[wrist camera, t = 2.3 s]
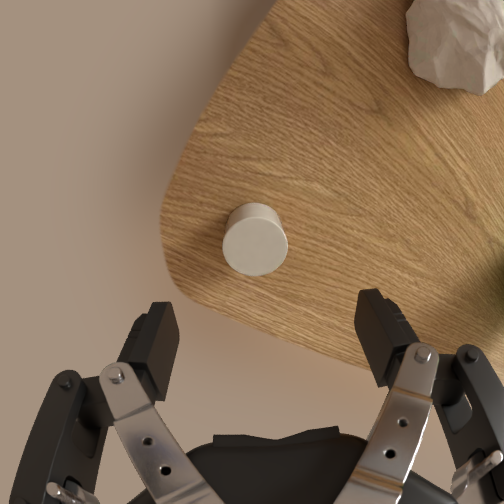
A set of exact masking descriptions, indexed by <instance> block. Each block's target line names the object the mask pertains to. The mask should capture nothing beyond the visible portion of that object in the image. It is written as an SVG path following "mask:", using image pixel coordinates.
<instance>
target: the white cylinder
mask: <svg viewBox="0 0 504 504" xmlns="http://www.w3.org/2000/svg"><path fill="white" fill-rule="evenodd" d="M222 250H223V255H224V258H225V259H226V261H227V263H228V264H229V265H230V266H231V267H232V268H233V269H234V270H236V271H237V272H239V273H241V274H244V275H248V276H262V275H265V274H268V273H270V272H272V271H274V270H275V269H277V268H278V267H279V266H280V265H281V264H282V262H283V261H284V259H285V257H286V254H287V250H288V242H287V238H286V235H285V231H284V228H283V225H282V222H281V219H280V217H279V216H278V214H277V213H276V212H275V211H274V210H273V209H272V208H270V207H269V206H267V205H264V204H261V203H248V204H244V205H242V206H240V207H238V208H237V209H235V210H234V211H233V212H232V213H231V214H230V216H229V217H228V219H227V222H226V226H225V232H224V238H223V244H222Z"/></svg>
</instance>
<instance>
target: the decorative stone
mask: <svg viewBox="0 0 504 504" xmlns="http://www.w3.org/2000/svg"><path fill="white" fill-rule="evenodd" d="M406 19H407V33H408V37H409V42H410V43H409V53H408V55H409V57H408V61H409V62H408V64H409V67H410V68H411V70H412V72H413V73H414V74H415V75H416V76H418V77H420V78H422V79H425V80H427V81H429V82H431V83H434V84H435V85H436V86H437V87H439V88H447V89H451V88H459V89H465V90H466V91H467V92H470V93H473V94H475V95H478V96H482V95H483V94H485V93H486V92H487V91H488V90H489V89H490V88H493V87H494V86H495V85H496V84H497V82H498V81H500V80H501V79H503V77H504V1H503V0H414V1H413V3H412V5H411V7H410V8H409V10H408V11H407V12H406Z"/></svg>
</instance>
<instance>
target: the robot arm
mask: <svg viewBox="0 0 504 504" xmlns="http://www.w3.org/2000/svg"><path fill="white" fill-rule="evenodd" d="M354 326H355V331H356V333H357V336H358V338H359V341H360V343H361V345H362V348H363V350H364V353H365V355H366V358H367V360H368V363H369V365H370V368H371V370H372V373H373V375H374V378H375V380H376V383H377V385H378V387H383V386H388V388H389V392H388V394H387V396H386V399H385V401H384V403H383V406H382V408H381V410H380V413H379V415H378V417H377V419H376V421H375V423H374V425H373V427H372V429H371V431H370V433H369V435H368V437H367V439H366V440H365V439H362V438H360V437H357V436H354V435H349V434H342V433H340V432H339V428H338V426H333V427H326V428H319V429H312V430H307V431H304V432H301V433H298V434H295V435H292V436H289V437H285V438H282V439H278V440H273V439H266V438H260V437H254V436H249V435H214V436H213V442H212V443H208V444H204V445H201V446H199V447H197V448H194V449H192V450H191V451H189V452H187V453H186V454H185V453H184V451H183V450H182V449H181V447H180V446H179V444H178V443H177V441H176V440H175V439H174V437H173V435H172V434H171V432H170V431H169V429H168V428H167V427H166V425H165V423H164V422H163V420H162V418H161V417H160V415H159V414H158V412H157V410H156V409H155V407H154V405H155V401H165V398H166V393H167V389H168V385H169V381H170V376H171V372H172V368H173V364H174V360H175V356H176V352H177V348H178V344H179V329H178V325H177V321H176V318H175V314H174V311H173V307H172V304H171V302H153V303H152V305H151V307H150V309H149V312H148V314H142V315H141V316H140V317H139V318H137V319H136V320H135V322H134V324H133V326H132V328H131V331H130V333H129V335H128V338H127V339H126V341H125V344H124V346H123V348H122V350H121V353H120V355H119V357H118V360H117V362H116V363H112V364H110V365H108V366H106V367H105V368H104V369H103V370H102V372H101V374H100V376H96V377H89V378H83V379H82V378H81V377H80V375H79V374H78V373H77V372H76V371H73V370H65V371H62V372H60V373H59V374H57V375H56V376H55V378H54V379H53V381H52V383H51V385H50V387H49V389H48V392H47V394H46V396H45V398H44V400H43V403H42V405H41V407H40V410H39V412H38V415H37V417H36V420H35V422H34V425H33V427H32V430H31V432H30V435H29V438H28V440H27V443H26V446H25V449H24V452H23V455H22V458H21V461H20V464H19V467H18V470H17V473H16V477H15V480H14V484H13V487H12V491H11V495H10V500H9V504H100V502H99V500H98V499H97V498H96V497H95V496H94V490H95V485H96V480H97V474H98V469H99V465H100V460H101V455H102V452H103V447H104V443H105V439H106V435H107V431H108V427H109V426H115V429H116V431H117V433H118V435H119V437H120V439H121V441H122V443H123V446H124V448H125V450H126V452H127V453H128V455H129V458H130V459H131V461H132V463H133V465H134V467H135V469H136V471H137V472H138V474H139V475H140V478H141V479H142V481H143V483H144V485H145V486H146V489H145V490H143V491H142V492H141V493H140V494H138V495H137V496H136V497H135V498H134V499H132V500H131V501H130V502H129V503H127V504H504V387H503V385H502V383H501V381H500V380H499V378H498V376H497V374H496V373H495V371H494V369H493V368H492V366H491V364H490V363H489V361H488V359H487V358H486V356H485V355H484V353H483V352H482V350H481V349H479V348H478V347H476V346H474V345H470V344H465V345H462V346H460V347H459V348H458V350H457V352H456V354H438V352H437V350H436V349H435V348H434V347H433V346H431V345H429V344H427V343H423V342H420V340H419V339H418V337H417V335H416V334H415V332H414V330H413V329H412V327H411V326H410V324H409V322H408V321H406V318H405V316H404V315H403V314H402V311H401V310H400V308H399V307H398V305H397V304H395V303H394V302H393V301H391V300H390V299H389V298H387V299H384V298H383V296H382V295H381V293H380V291H379V290H378V289H377V288H374V289H365V290H360V291H359V295H358V301H357V306H356V312H355V318H354ZM465 394H466V395H467V398H468V400H469V402H470V404H471V406H472V410H471V407H470V406H469V403H468V401H467V399H466V397H465ZM432 405H434V407H435V409H436V412H437V414H438V417H439V420H440V422H441V425H442V428H443V430H444V433H445V436H446V439H447V442H448V445H449V448H450V451H451V454H452V457H453V460H454V464H455V467H456V472H455V473H454V475H453V478H452V485H451V492H452V494H450V493H448V492H446V491H444V490H443V489H441V488H439V487H437V486H436V485H434V484H433V483H431V482H429V481H428V480H426V479H425V478H423V477H421V476H420V475H418V474H417V473H415V472H413V471H412V470H410V469H411V466H412V464H413V461H414V459H415V456H416V454H417V451H418V448H419V445H420V443H421V440H422V437H423V434H424V430H425V428H426V424H427V421H428V418H429V414H430V410H431V407H432Z"/></svg>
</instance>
